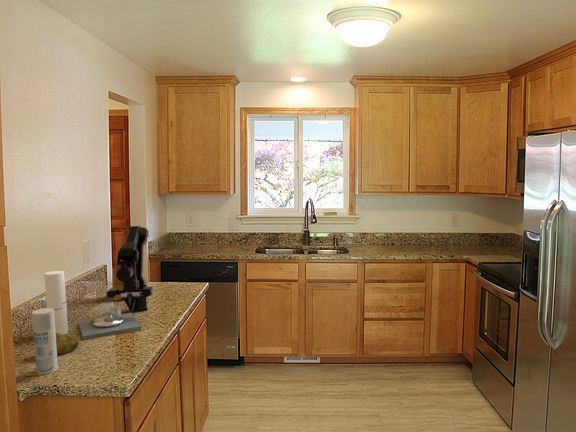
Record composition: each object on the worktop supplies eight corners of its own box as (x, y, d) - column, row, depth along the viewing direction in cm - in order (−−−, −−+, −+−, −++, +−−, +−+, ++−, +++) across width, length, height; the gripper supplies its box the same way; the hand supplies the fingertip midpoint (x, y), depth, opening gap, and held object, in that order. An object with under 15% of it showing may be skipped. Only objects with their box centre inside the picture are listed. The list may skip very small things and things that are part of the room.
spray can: (61, 365, 161) (57, 307, 159) (52, 373, 155) (48, 313, 153) (42, 366, 161) (37, 308, 159) (32, 374, 154) (27, 314, 153)
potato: (75, 355, 170) (74, 333, 170) (36, 359, 167) (34, 337, 167) (79, 346, 178) (78, 326, 178) (42, 350, 175) (40, 329, 175)
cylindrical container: (72, 331, 197) (67, 271, 194) (58, 336, 190) (54, 274, 188) (58, 329, 199) (54, 270, 197) (44, 335, 192) (39, 274, 190)
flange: (120, 314, 212) (120, 304, 211) (126, 323, 198) (126, 313, 198) (91, 319, 206) (90, 308, 206) (95, 329, 192) (94, 318, 192)
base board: (131, 315, 215) (130, 302, 215) (141, 329, 196) (140, 315, 195) (78, 324, 205) (77, 310, 205) (83, 339, 186) (82, 324, 185)
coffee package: (134, 294, 254) (132, 253, 252) (132, 300, 242) (129, 257, 240) (114, 295, 252) (112, 254, 250) (111, 301, 240) (108, 258, 238)
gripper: (154, 271, 216) (156, 305, 217) (111, 273, 214) (114, 307, 215) (150, 276, 205) (152, 312, 206) (105, 278, 203) (107, 314, 204)
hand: (131, 311), depth 208 cm, fingers closed
